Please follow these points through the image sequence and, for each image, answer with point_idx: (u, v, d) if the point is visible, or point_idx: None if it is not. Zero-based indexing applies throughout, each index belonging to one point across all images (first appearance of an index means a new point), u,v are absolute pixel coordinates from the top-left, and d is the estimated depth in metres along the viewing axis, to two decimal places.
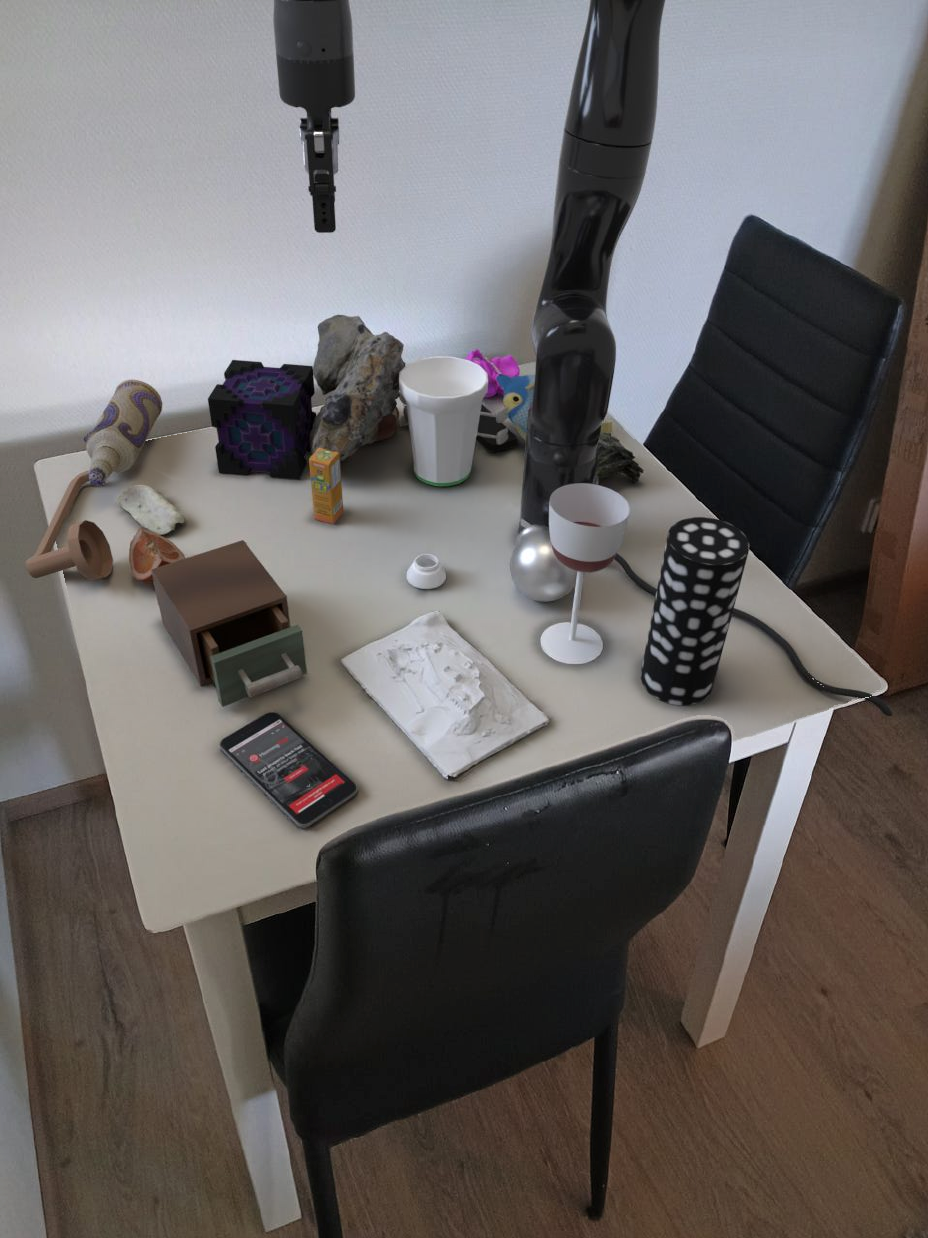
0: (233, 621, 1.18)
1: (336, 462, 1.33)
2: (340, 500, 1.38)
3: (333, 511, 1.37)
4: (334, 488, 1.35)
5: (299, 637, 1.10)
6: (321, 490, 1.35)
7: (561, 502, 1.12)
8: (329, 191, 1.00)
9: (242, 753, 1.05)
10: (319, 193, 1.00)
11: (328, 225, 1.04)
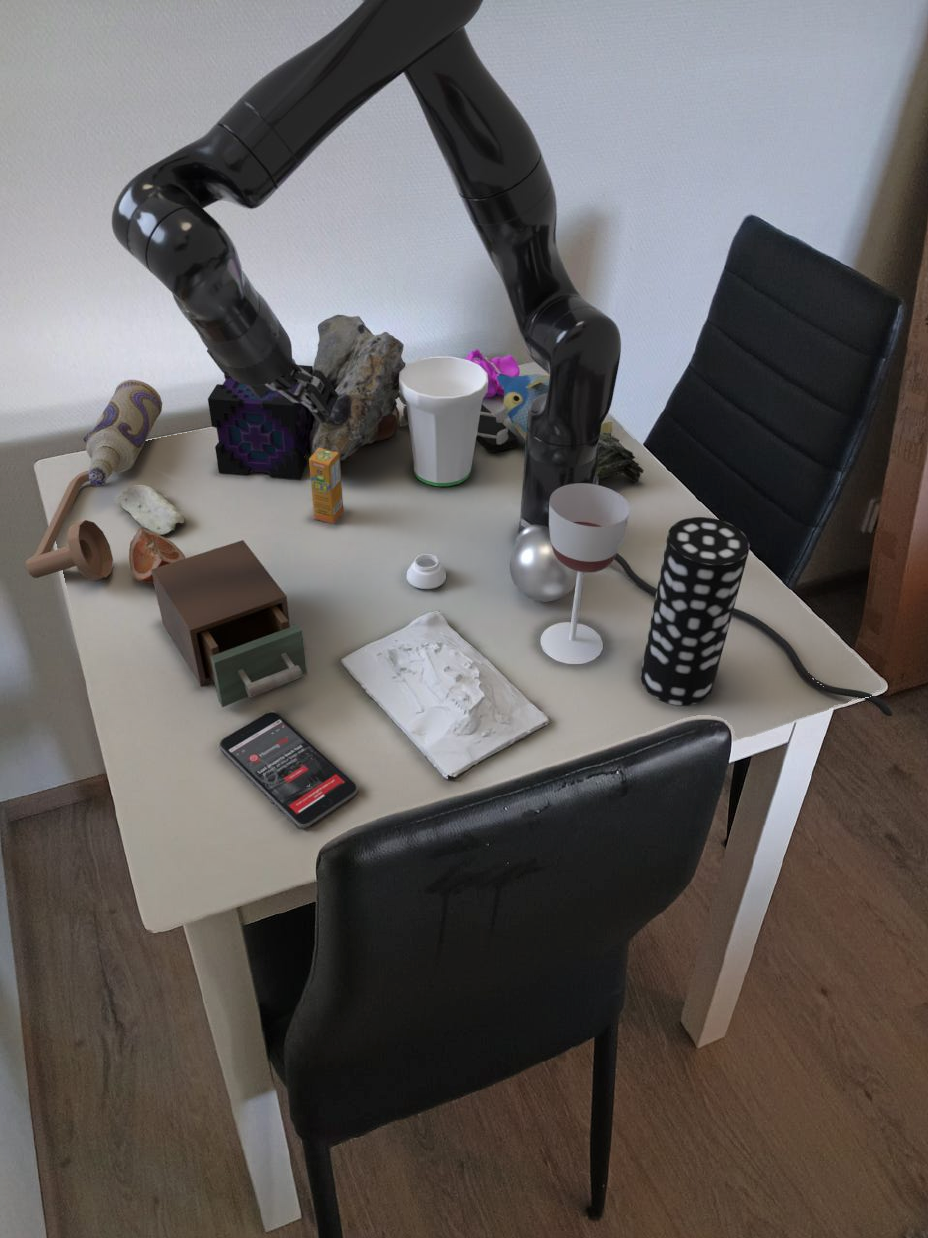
0: (233, 621, 1.18)
1: (336, 462, 1.33)
2: (340, 500, 1.38)
3: (333, 511, 1.37)
4: (334, 488, 1.35)
5: (299, 637, 1.10)
6: (321, 490, 1.35)
7: (561, 502, 1.12)
8: (336, 399, 1.11)
9: (242, 753, 1.05)
10: (332, 407, 1.11)
11: (331, 412, 1.15)
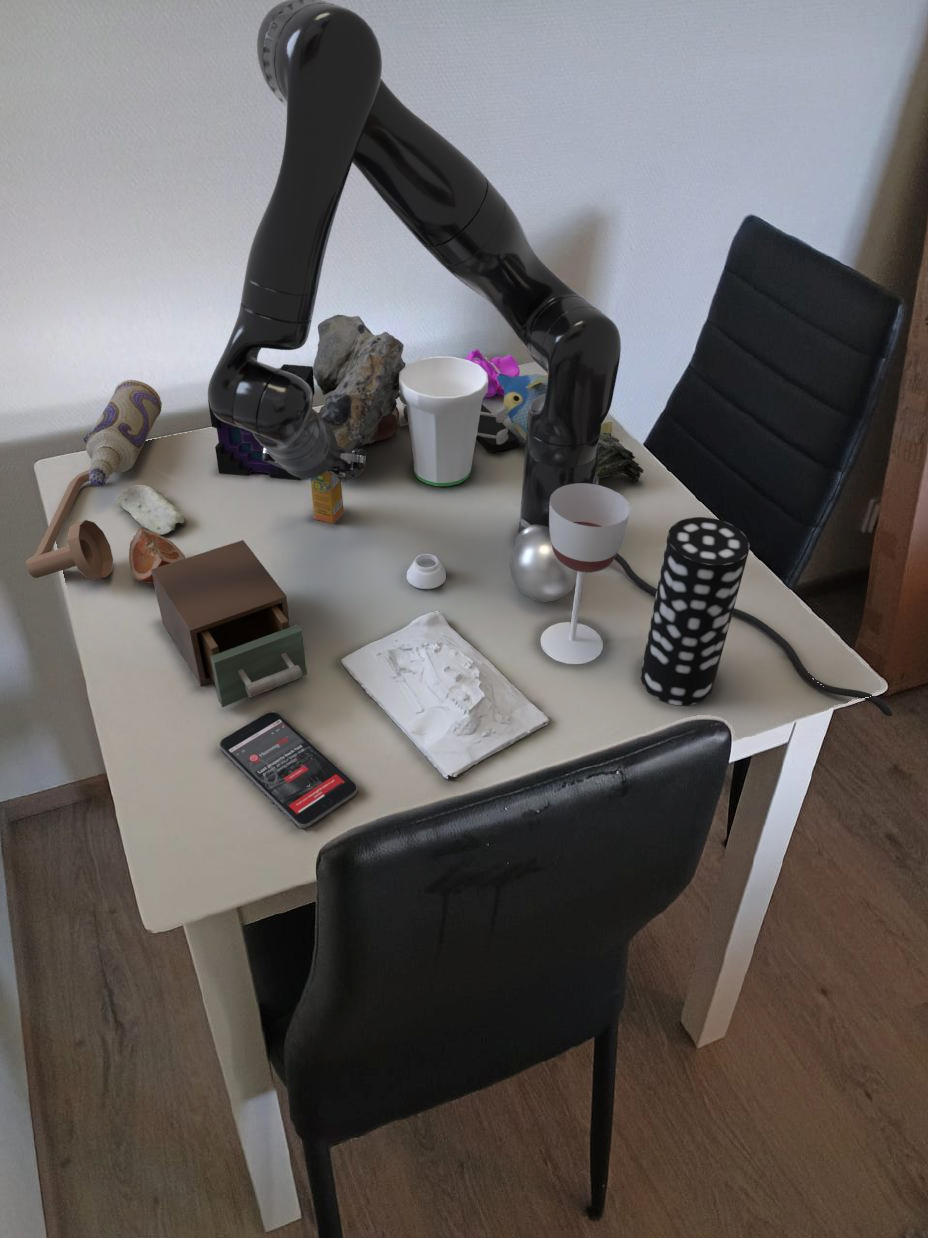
0: (233, 621, 1.18)
1: None
2: (340, 500, 1.38)
3: (333, 511, 1.37)
4: (334, 488, 1.35)
5: (299, 637, 1.10)
6: (321, 489, 1.35)
7: (561, 502, 1.12)
8: None
9: (242, 753, 1.05)
10: None
11: None
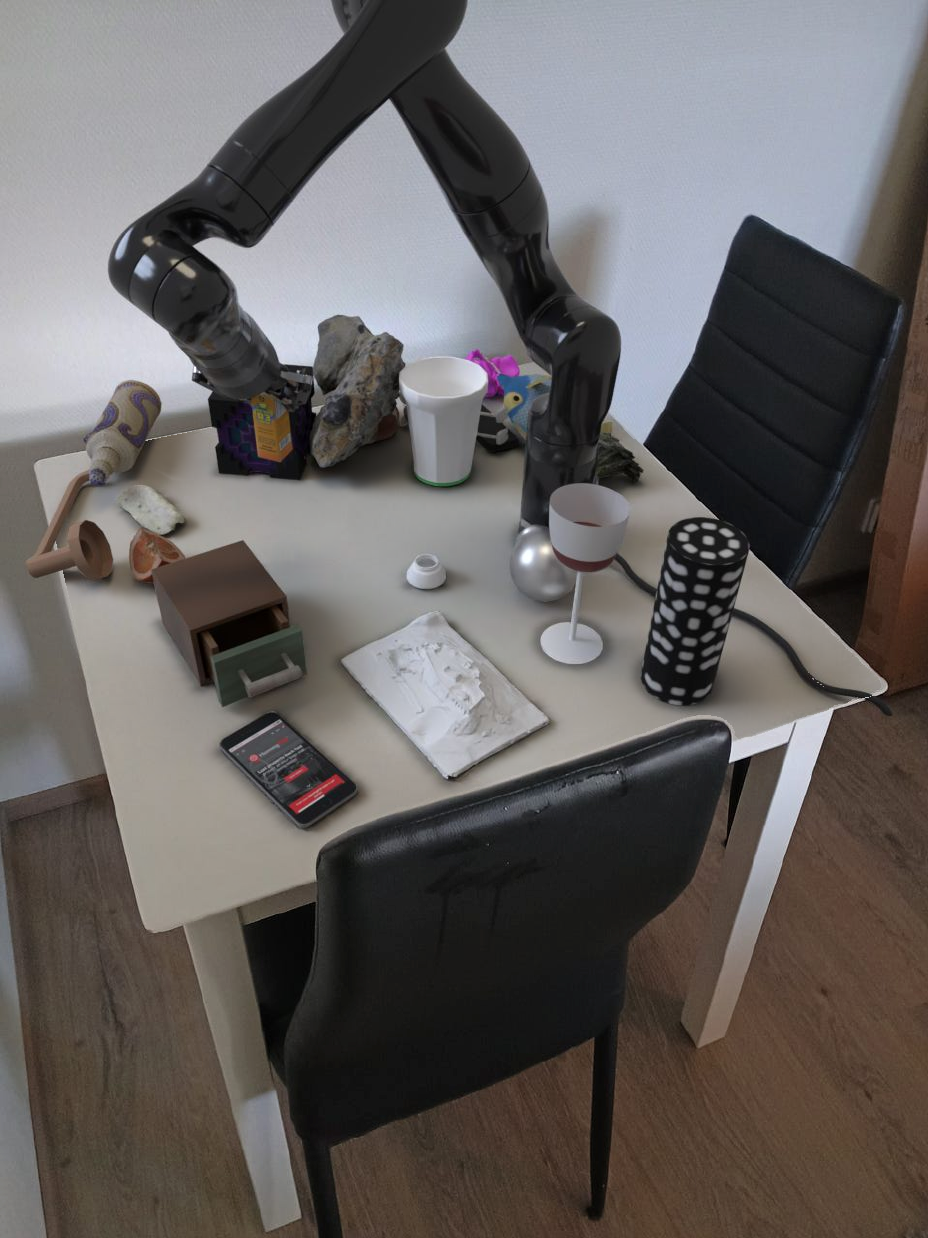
0: (233, 621, 1.18)
1: None
2: (287, 434, 1.20)
3: (278, 446, 1.18)
4: (280, 418, 1.17)
5: (299, 637, 1.10)
6: (264, 420, 1.17)
7: (561, 502, 1.12)
8: None
9: (242, 753, 1.05)
10: None
11: None
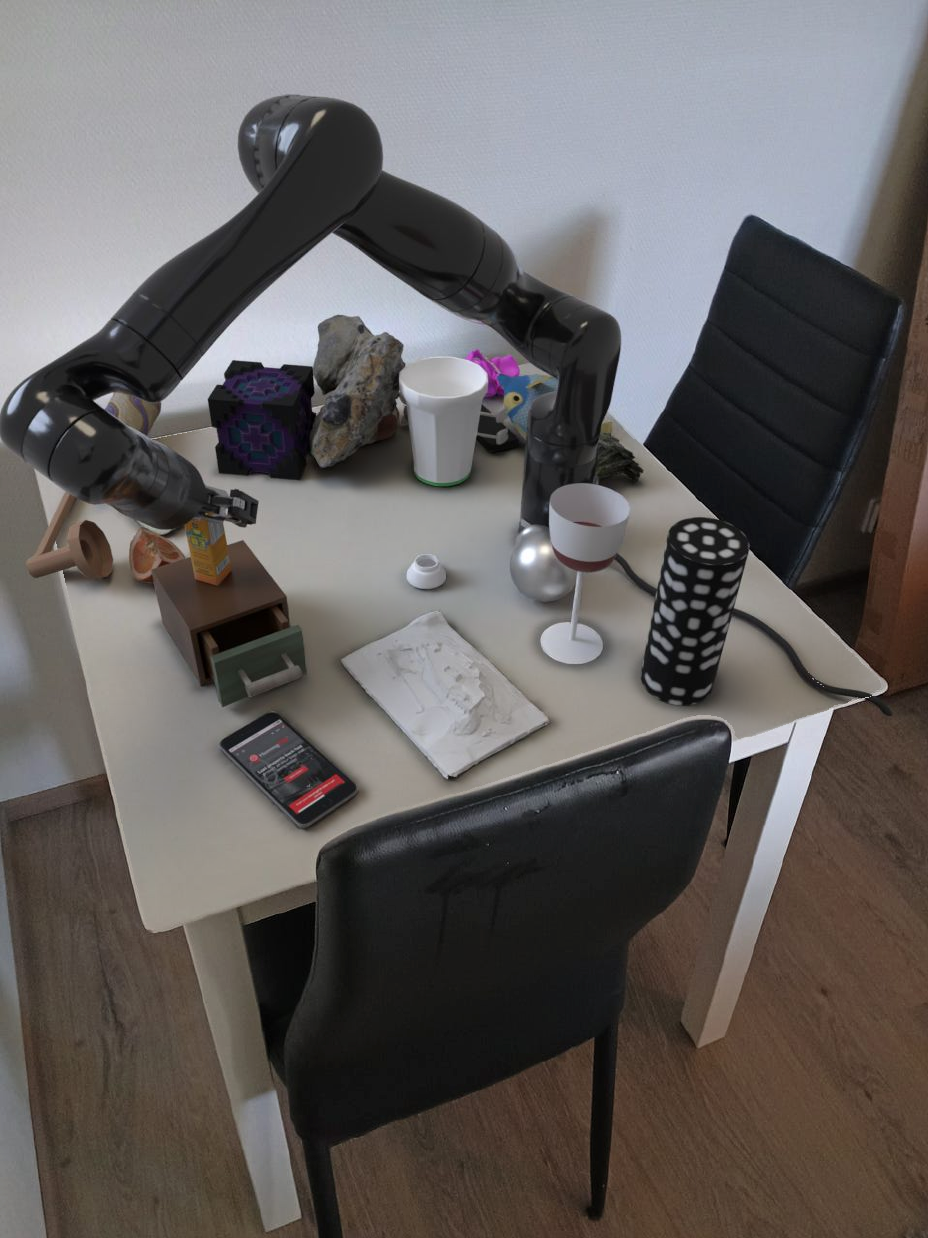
0: (233, 621, 1.18)
1: None
2: (225, 557, 1.14)
3: (215, 571, 1.13)
4: (216, 543, 1.11)
5: (299, 637, 1.10)
6: (199, 546, 1.11)
7: (561, 502, 1.12)
8: (257, 505, 1.06)
9: (242, 753, 1.05)
10: (256, 515, 1.06)
11: None
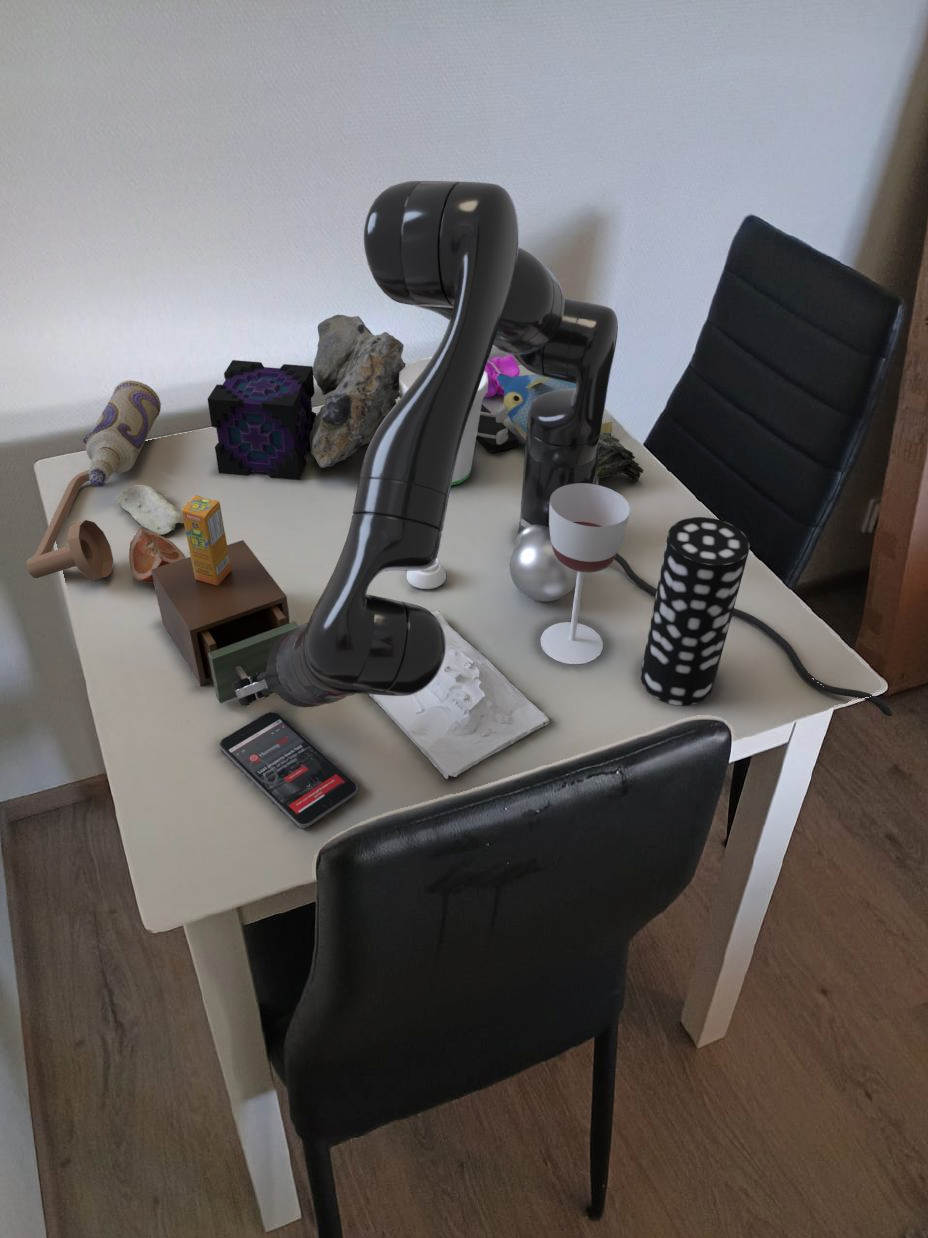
0: None
1: (216, 513, 1.09)
2: (225, 557, 1.14)
3: (215, 571, 1.13)
4: (216, 543, 1.11)
5: None
6: (199, 546, 1.11)
7: (561, 502, 1.12)
8: None
9: (242, 753, 1.05)
10: None
11: None
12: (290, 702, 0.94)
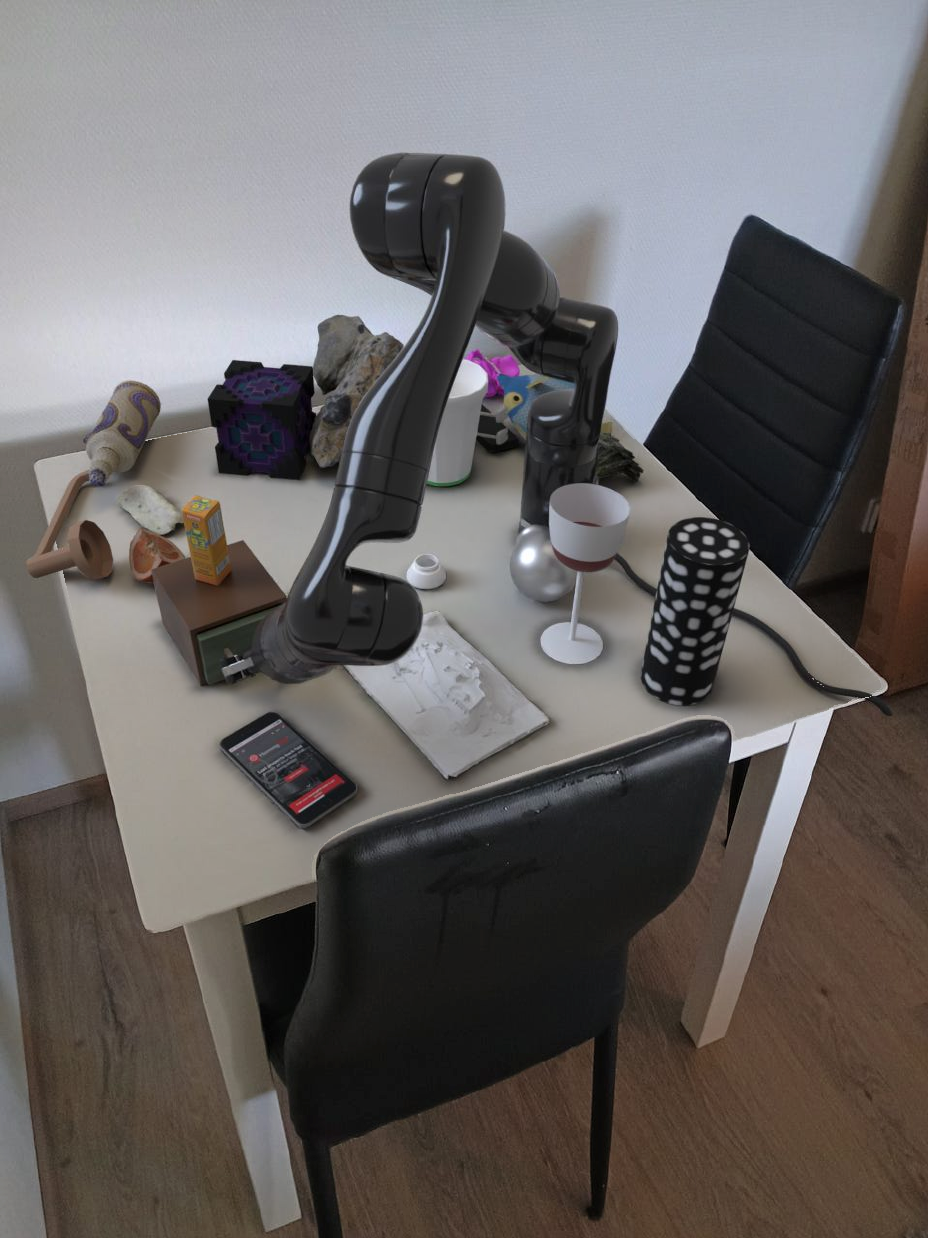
0: None
1: (216, 513, 1.09)
2: (225, 557, 1.14)
3: (215, 571, 1.13)
4: (216, 543, 1.11)
5: None
6: (199, 546, 1.11)
7: (561, 502, 1.12)
8: None
9: (242, 753, 1.05)
10: None
11: None
12: (275, 678, 0.96)
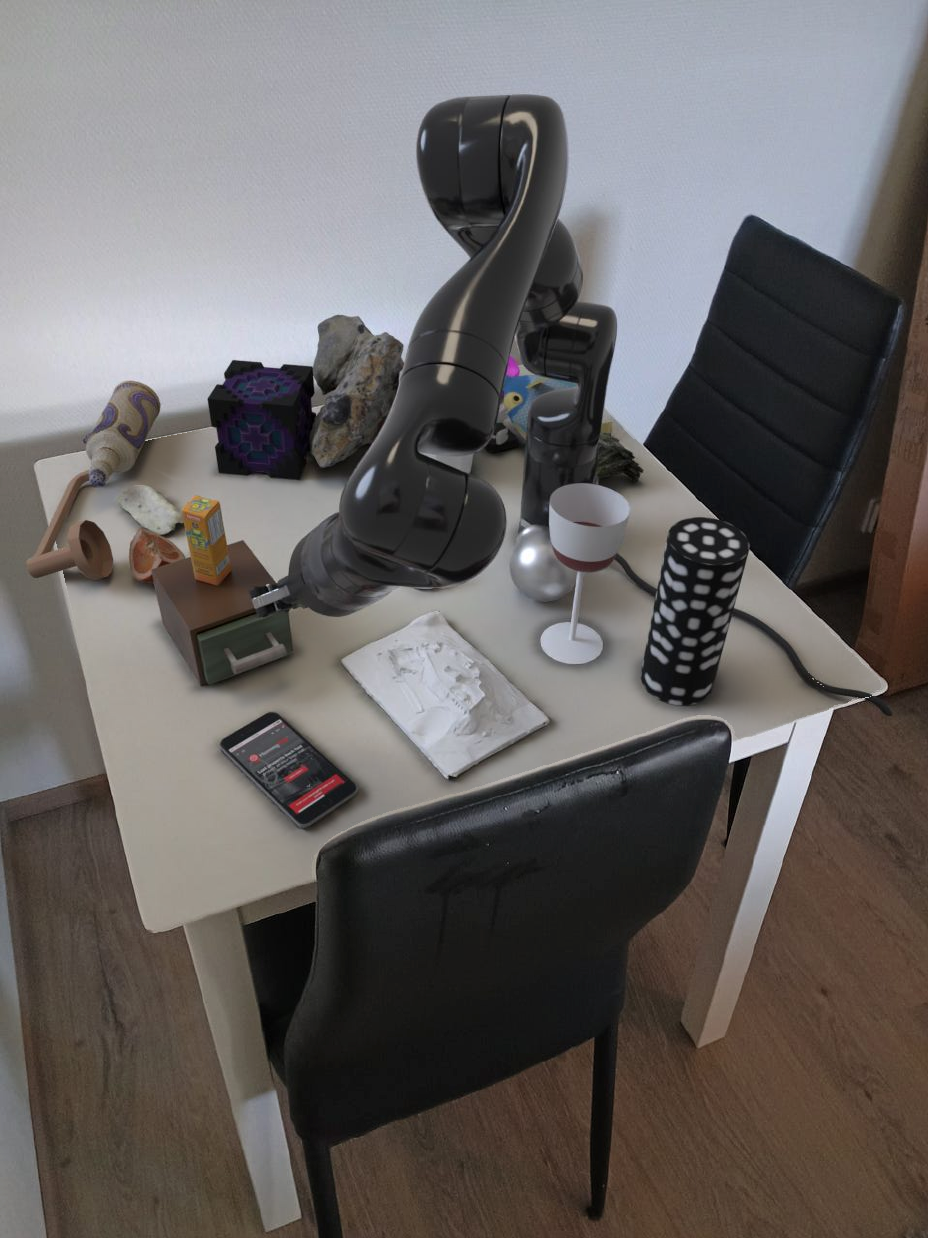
0: None
1: (216, 513, 1.09)
2: (225, 557, 1.14)
3: (215, 571, 1.13)
4: (216, 543, 1.11)
5: (283, 617, 1.13)
6: (199, 546, 1.11)
7: (561, 502, 1.12)
8: None
9: (242, 753, 1.05)
10: None
11: None
12: (316, 609, 0.81)
